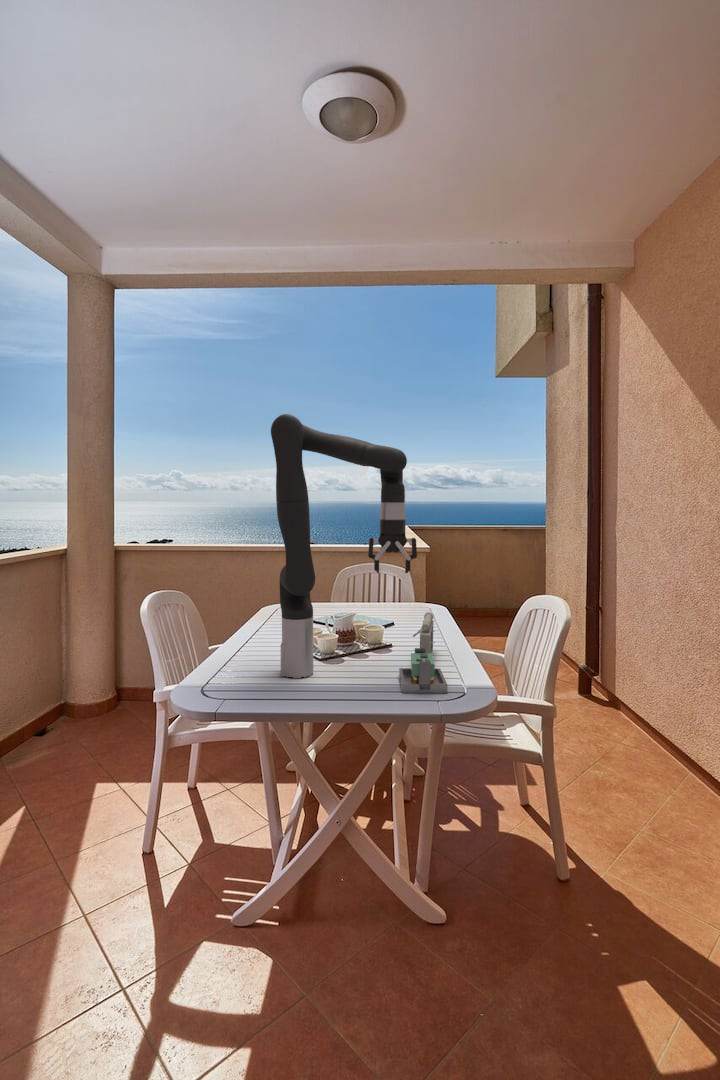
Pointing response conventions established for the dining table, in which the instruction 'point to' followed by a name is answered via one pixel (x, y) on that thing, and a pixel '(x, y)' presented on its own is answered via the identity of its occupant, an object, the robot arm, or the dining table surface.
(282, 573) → the robot arm
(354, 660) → the dining table surface
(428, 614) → the grey upright lever device
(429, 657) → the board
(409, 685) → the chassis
